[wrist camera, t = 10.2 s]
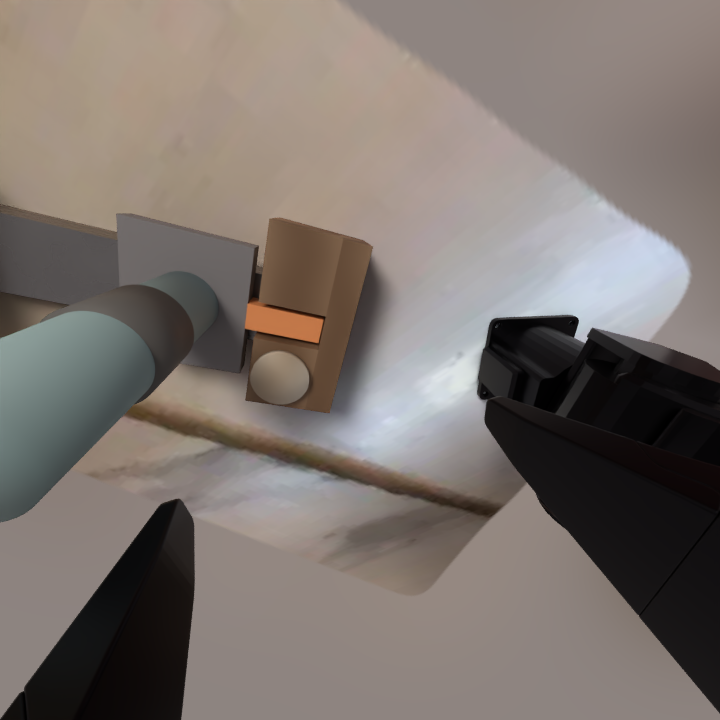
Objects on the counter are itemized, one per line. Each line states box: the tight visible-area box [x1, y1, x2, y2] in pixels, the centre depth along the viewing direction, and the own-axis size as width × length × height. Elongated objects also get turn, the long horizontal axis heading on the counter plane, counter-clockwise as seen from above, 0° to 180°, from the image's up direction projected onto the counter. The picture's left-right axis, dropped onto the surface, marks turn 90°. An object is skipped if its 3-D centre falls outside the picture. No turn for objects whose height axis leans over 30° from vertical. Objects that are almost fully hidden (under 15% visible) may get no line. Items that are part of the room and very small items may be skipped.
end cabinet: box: [245, 218, 373, 413], centre depth 18 cm, size 5×10×4 cm, turn 165°
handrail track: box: [0, 204, 263, 340], centre depth 18 cm, size 22×4×2 cm, turn 75°
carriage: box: [0, 214, 259, 522], centre depth 11 cm, size 6×7×13 cm
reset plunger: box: [245, 297, 324, 343], centre depth 18 cm, size 4×1×1 cm, turn 75°
